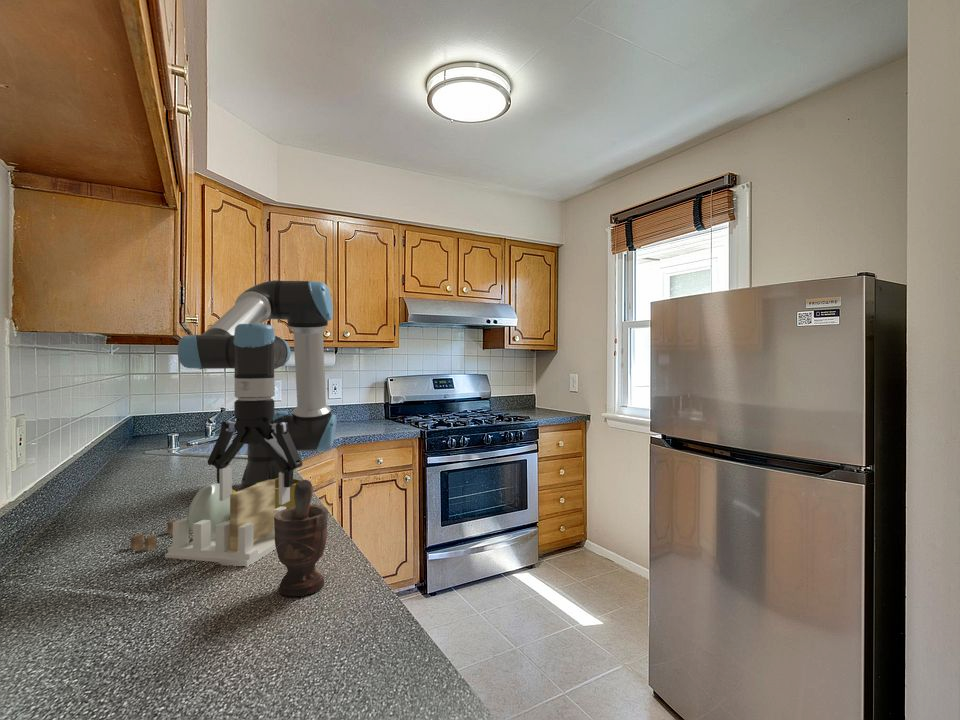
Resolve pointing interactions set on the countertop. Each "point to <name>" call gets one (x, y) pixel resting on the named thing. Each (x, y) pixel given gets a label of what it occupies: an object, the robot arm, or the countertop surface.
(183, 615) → the countertop surface
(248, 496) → the bamboo board
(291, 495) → the flower pot
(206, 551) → the dish rack
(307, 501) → the mortar and pestle
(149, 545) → the board stand
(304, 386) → the robot arm
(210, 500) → the sage plate
